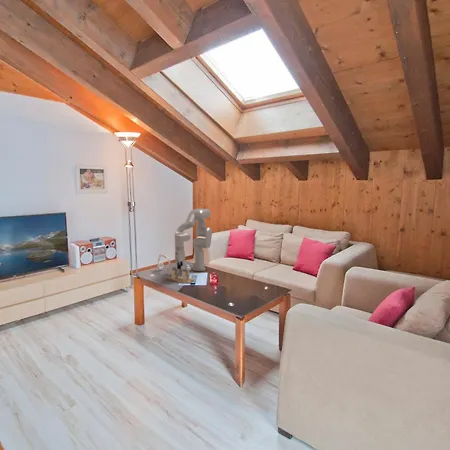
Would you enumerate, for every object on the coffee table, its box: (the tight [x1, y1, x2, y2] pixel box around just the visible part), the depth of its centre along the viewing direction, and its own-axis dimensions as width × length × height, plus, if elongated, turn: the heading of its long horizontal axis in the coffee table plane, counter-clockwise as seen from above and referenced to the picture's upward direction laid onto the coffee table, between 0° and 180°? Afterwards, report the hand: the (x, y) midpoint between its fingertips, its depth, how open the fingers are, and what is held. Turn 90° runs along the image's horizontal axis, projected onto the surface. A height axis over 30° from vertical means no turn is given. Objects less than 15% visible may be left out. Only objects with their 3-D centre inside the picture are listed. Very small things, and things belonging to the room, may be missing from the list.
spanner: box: [168, 263, 192, 272], centre depth 289 cm, size 22×6×3 cm, turn 66°
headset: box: [156, 253, 172, 276], centre depth 311 cm, size 20×7×18 cm, turn 42°
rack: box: [165, 268, 196, 285], centre depth 290 cm, size 10×24×12 cm, turn 65°
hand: (180, 268), depth 289 cm, fingers closed on spanner, 3 cm apart
